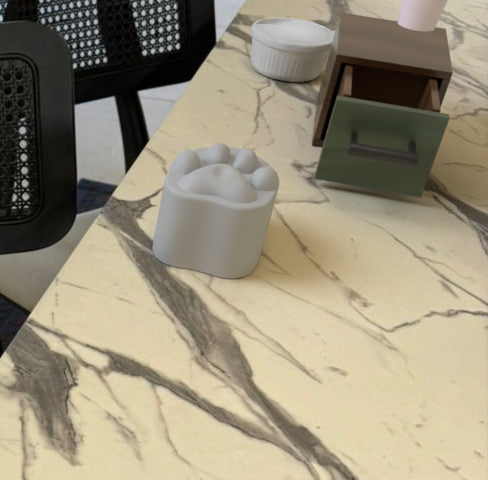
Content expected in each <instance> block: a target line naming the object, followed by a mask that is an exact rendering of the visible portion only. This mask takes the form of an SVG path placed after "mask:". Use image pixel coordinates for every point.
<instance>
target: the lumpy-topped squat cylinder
mask: <svg viewBox="0 0 488 480" xmlns="http://www.w3.org/2000/svg"><path fill="white" fill-rule="evenodd" d="M279 187H280V177H279V175H278V173H277V171H276V169H274V168H273V167H272V166H271V165H270V164H269V163H268V162H267V161H265V160H264V159H263V158H261V157H259V156H258V155H257V154H256V152H255V150H253V149H250V148H243V149H242V148H239V147H238V148H237V147H232V146H228V145H227V144H224V143H220V142H219V143H218V142H217V143H215V144H212V145H211V146H207V147H206V146H205V147H200V148H196V149H183V150H181V151H180V152H179V153H177V155H176V156H175V158H174V161H173V162H171V164H170V166H169V168H168V170H167V172H166V174H165V178H164V182H163V188H162V193H161V199H160V203H159V207H158V208H159V209H158V214H157V220H156V224H155V231H154V236H153V242H152V254H153V255H154V257H155V258H156V259H157V260H158V261H160V262H161V263H163V264H165V265H168V266H170V267H174V268H179V269H186V270H192V271H197V272H201V273H204V274H207V275H210V276H213V277H216V278H220V279H228V280H234V279H242V278H244V277H247V276H249V275H250V274H251V273H252V272H254V270H255V268H256V267H257V265H258V264H259V262H260V259H261V256H262V252H263V249H264V245H265V241H266V238H267V234H268V231H269V226H270V222H271V220H272V219H271V218H272V214H273V210H274V207H275V203H276V200H277V196H278V191H279Z"/></svg>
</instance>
